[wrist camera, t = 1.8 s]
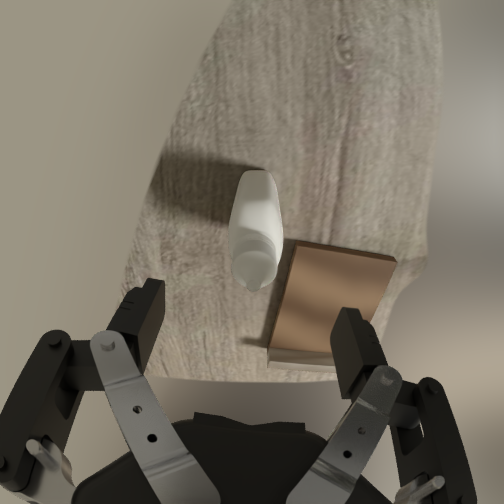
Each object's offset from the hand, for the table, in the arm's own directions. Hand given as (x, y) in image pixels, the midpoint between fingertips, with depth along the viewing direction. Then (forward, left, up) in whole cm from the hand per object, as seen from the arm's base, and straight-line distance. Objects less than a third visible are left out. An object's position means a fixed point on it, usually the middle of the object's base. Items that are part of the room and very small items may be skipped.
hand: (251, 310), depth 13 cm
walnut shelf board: (+10, +9, -14) cm, 19 cm away
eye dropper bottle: (0, 0, -14) cm, 14 cm away
